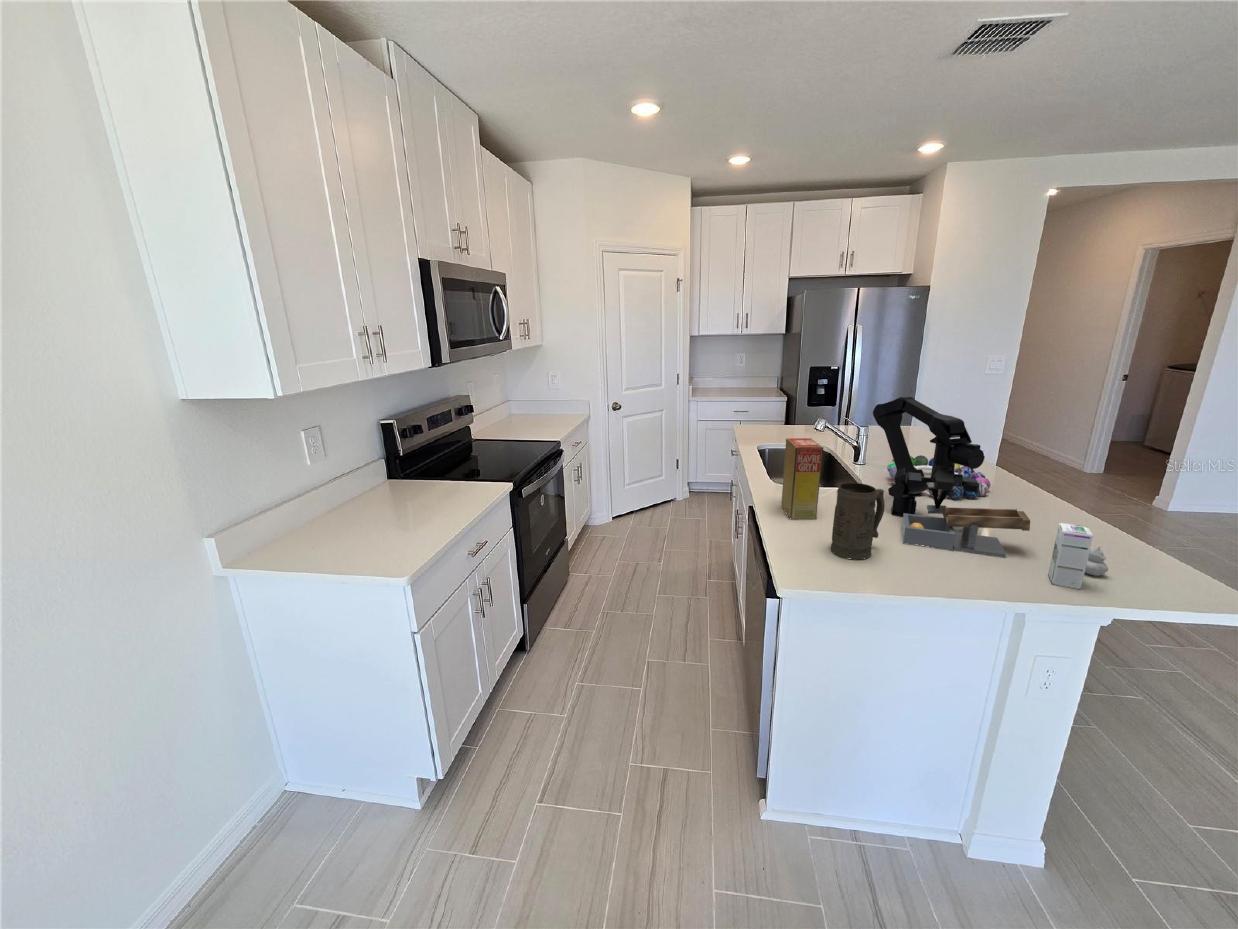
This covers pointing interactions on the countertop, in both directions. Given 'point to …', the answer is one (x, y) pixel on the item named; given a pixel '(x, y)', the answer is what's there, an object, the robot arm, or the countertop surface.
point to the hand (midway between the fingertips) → (936, 507)
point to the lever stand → (977, 543)
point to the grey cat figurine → (1096, 563)
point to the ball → (917, 525)
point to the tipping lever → (983, 517)
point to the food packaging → (801, 478)
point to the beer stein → (856, 520)
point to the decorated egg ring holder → (967, 472)
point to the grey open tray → (927, 531)
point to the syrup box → (1070, 555)
